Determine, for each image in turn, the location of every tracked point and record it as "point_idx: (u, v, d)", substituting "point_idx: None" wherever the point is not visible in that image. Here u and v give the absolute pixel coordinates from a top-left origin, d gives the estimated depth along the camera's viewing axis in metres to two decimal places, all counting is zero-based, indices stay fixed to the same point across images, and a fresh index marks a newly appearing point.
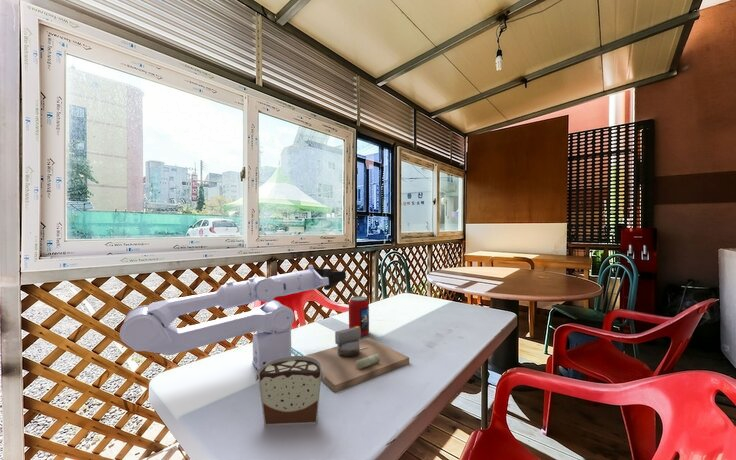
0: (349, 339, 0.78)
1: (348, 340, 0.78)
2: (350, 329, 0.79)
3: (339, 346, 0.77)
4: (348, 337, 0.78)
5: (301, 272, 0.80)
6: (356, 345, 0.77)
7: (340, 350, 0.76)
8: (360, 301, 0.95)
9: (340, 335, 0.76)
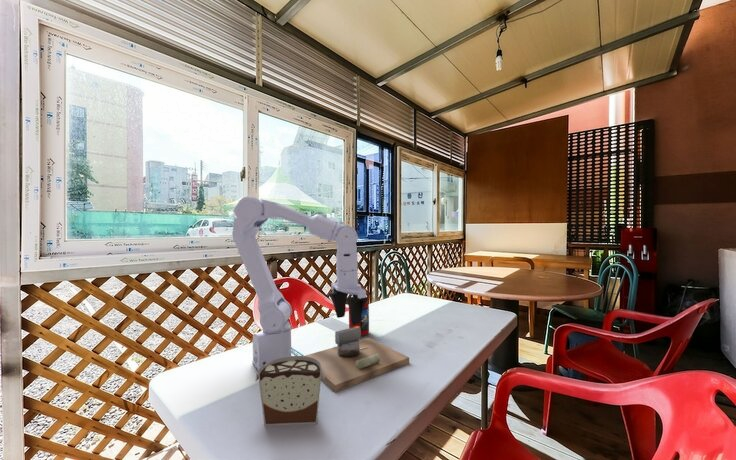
0: (349, 339, 0.78)
1: (348, 340, 0.78)
2: (350, 329, 0.79)
3: (339, 346, 0.77)
4: (348, 337, 0.78)
5: None
6: (356, 345, 0.77)
7: (340, 350, 0.76)
8: None
9: (340, 335, 0.76)
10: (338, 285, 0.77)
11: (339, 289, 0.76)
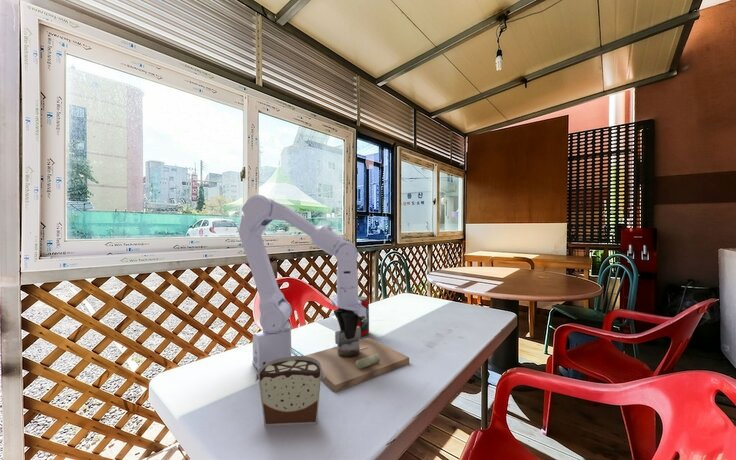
0: (349, 339, 0.78)
1: (348, 340, 0.78)
2: None
3: (339, 346, 0.77)
4: None
5: None
6: (356, 345, 0.77)
7: (340, 350, 0.76)
8: None
9: (340, 335, 0.76)
10: (338, 302, 0.77)
11: (339, 306, 0.76)
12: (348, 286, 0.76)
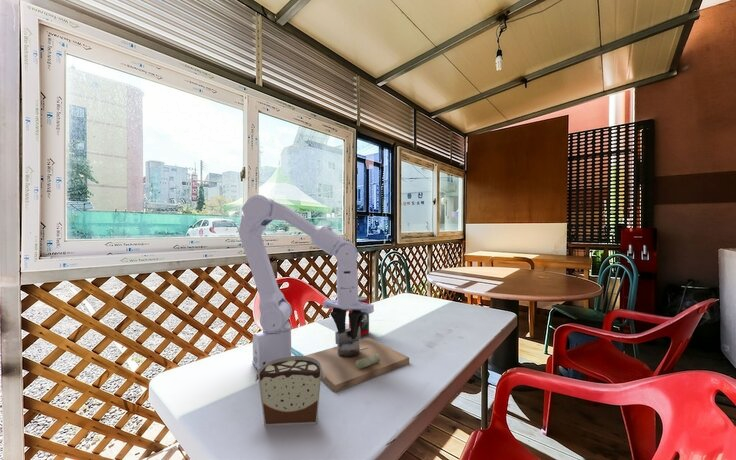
0: (350, 339, 0.78)
1: (348, 340, 0.78)
2: (350, 329, 0.79)
3: (339, 346, 0.77)
4: (348, 337, 0.78)
5: None
6: (356, 345, 0.77)
7: (340, 350, 0.76)
8: (360, 301, 0.95)
9: (340, 335, 0.76)
10: (342, 303, 0.76)
11: (344, 307, 0.76)
12: (348, 286, 0.76)
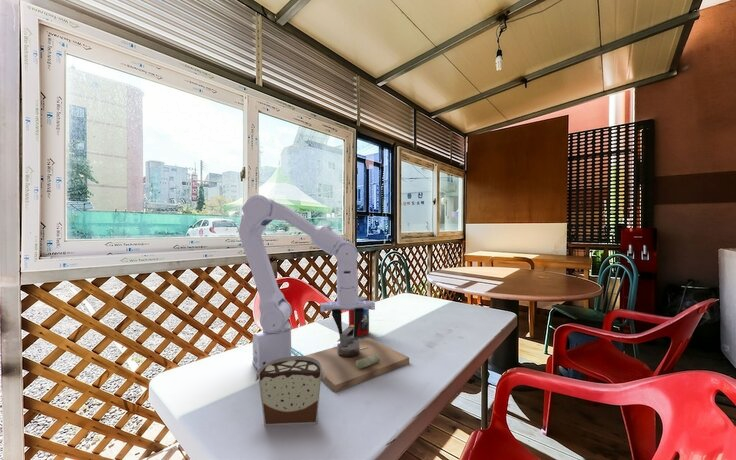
0: (351, 338, 0.78)
1: (350, 340, 0.78)
2: (349, 329, 0.79)
3: (345, 347, 0.76)
4: (350, 336, 0.78)
5: None
6: None
7: (346, 351, 0.76)
8: None
9: (347, 336, 0.76)
10: (348, 303, 0.76)
11: (351, 306, 0.76)
12: (348, 286, 0.76)
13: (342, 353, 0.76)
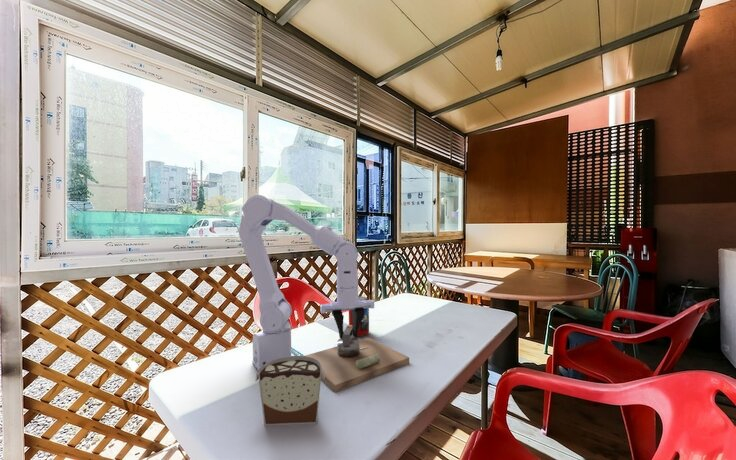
0: (351, 338, 0.79)
1: (351, 339, 0.78)
2: (348, 329, 0.79)
3: (347, 347, 0.76)
4: (351, 336, 0.78)
5: None
6: None
7: (349, 351, 0.76)
8: None
9: (349, 336, 0.76)
10: (350, 303, 0.76)
11: (353, 306, 0.76)
12: (348, 286, 0.76)
13: (344, 353, 0.76)
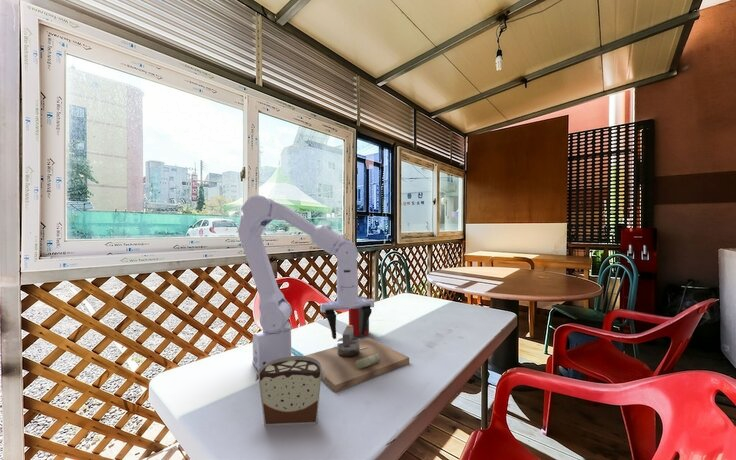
0: (351, 338, 0.79)
1: (351, 339, 0.78)
2: (348, 329, 0.79)
3: (347, 347, 0.76)
4: (351, 336, 0.78)
5: None
6: None
7: (349, 351, 0.76)
8: None
9: (349, 336, 0.76)
10: (350, 302, 0.76)
11: (353, 305, 0.76)
12: (348, 285, 0.76)
13: (344, 353, 0.76)
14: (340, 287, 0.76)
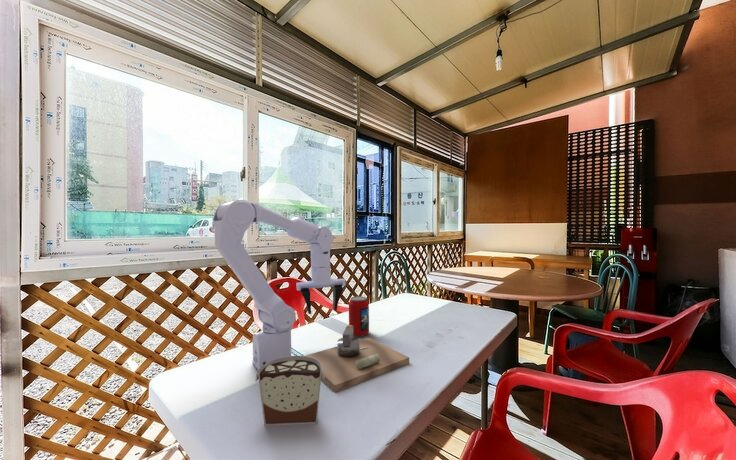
0: (351, 338, 0.79)
1: (351, 339, 0.78)
2: (348, 329, 0.79)
3: (347, 347, 0.76)
4: (351, 336, 0.78)
5: None
6: None
7: (349, 351, 0.76)
8: (360, 301, 0.95)
9: (349, 336, 0.76)
10: (323, 280, 0.85)
11: (325, 283, 0.85)
12: (327, 265, 0.86)
13: (344, 353, 0.76)
14: (313, 267, 0.85)
